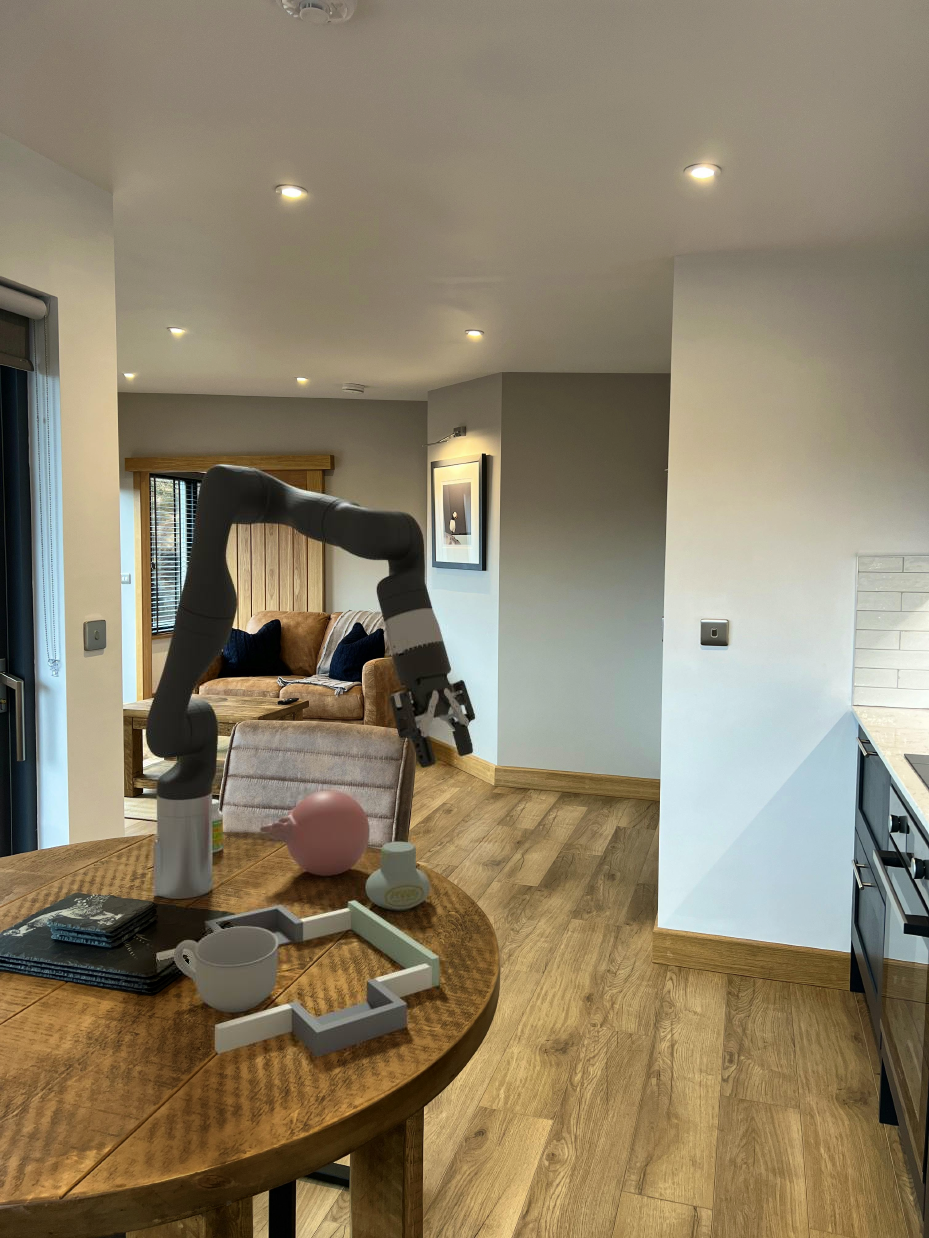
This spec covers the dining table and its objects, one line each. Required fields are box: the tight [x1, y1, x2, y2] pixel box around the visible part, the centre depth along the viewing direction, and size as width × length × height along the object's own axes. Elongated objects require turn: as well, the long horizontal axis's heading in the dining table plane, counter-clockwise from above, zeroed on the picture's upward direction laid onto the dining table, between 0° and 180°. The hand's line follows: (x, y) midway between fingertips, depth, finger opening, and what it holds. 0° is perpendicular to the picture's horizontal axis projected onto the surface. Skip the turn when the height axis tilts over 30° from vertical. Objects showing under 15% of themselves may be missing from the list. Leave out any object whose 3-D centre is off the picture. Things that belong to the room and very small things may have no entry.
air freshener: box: [365, 841, 431, 912], centre depth 152 cm, size 11×8×10 cm
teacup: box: [174, 926, 280, 1014], centre depth 118 cm, size 14×11×8 cm
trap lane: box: [156, 900, 440, 1058], centre depth 124 cm, size 31×38×4 cm
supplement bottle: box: [212, 798, 224, 854], centre depth 179 cm, size 5×5×10 cm
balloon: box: [259, 789, 370, 877], centre depth 165 cm, size 15×20×15 cm
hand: (448, 760), depth 122 cm, fingers open, 8 cm apart
